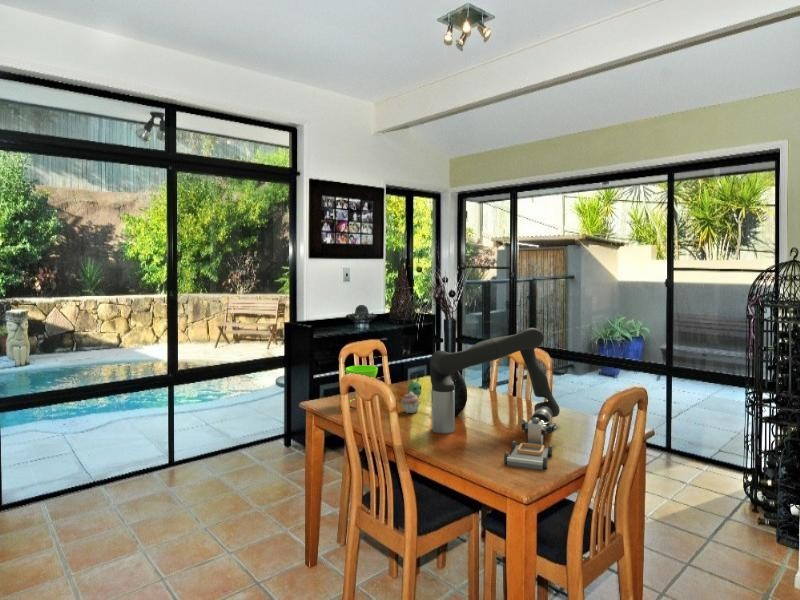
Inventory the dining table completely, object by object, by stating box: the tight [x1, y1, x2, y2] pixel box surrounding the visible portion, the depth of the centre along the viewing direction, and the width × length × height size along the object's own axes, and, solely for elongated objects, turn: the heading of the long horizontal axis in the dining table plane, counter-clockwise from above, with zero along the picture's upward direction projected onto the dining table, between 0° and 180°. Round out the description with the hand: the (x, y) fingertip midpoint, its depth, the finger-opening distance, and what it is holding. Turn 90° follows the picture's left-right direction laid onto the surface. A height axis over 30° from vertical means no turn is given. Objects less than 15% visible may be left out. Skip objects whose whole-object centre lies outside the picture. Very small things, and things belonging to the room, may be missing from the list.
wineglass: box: [345, 364, 379, 402], centre depth 274 cm, size 16×16×18 cm
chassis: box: [503, 440, 554, 471], centre depth 197 cm, size 18×14×4 cm
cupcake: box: [400, 391, 421, 414], centre depth 259 cm, size 9×9×10 cm
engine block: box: [527, 417, 544, 445], centre depth 211 cm, size 5×5×10 cm
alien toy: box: [407, 378, 422, 398], centre depth 285 cm, size 7×8×10 cm
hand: (534, 431), depth 209 cm, fingers closed on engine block, 5 cm apart
